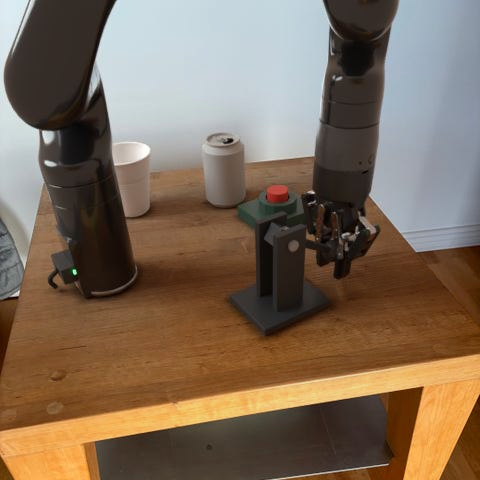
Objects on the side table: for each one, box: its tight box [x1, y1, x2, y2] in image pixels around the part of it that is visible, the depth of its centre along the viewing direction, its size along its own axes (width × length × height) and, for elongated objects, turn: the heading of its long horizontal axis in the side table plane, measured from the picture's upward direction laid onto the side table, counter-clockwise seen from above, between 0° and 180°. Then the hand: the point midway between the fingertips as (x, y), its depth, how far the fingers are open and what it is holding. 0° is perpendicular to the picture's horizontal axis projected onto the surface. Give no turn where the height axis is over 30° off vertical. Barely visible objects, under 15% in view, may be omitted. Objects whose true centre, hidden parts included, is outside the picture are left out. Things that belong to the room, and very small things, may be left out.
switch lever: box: [264, 222, 337, 263], centre depth 67 cm, size 14×3×3 cm
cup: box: [112, 141, 152, 218], centre depth 89 cm, size 10×10×11 cm
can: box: [201, 131, 247, 209], centre depth 91 cm, size 8×8×12 cm
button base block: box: [237, 188, 317, 230], centre depth 88 cm, size 11×9×4 cm
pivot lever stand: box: [228, 211, 331, 337], centre depth 66 cm, size 11×9×13 cm
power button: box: [267, 184, 289, 203], centre depth 86 cm, size 4×4×2 cm
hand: (331, 270), depth 73 cm, fingers closed on switch lever, 3 cm apart
